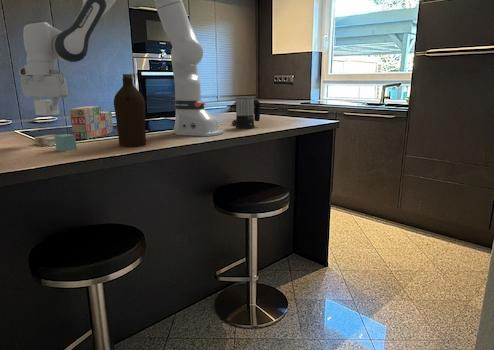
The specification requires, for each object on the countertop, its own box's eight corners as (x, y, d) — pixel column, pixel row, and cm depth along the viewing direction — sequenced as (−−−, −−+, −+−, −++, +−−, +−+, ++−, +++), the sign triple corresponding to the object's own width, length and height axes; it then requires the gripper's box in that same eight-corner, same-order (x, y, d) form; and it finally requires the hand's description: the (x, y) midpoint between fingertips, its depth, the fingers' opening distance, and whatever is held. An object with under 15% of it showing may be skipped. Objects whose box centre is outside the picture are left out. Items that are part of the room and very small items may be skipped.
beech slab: (69, 143, 139) (68, 135, 138) (50, 147, 132) (48, 138, 131) (55, 142, 142) (54, 134, 141) (35, 145, 135) (34, 137, 134)
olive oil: (153, 144, 134) (148, 74, 127) (125, 148, 127) (119, 74, 120) (139, 141, 141) (134, 74, 135) (112, 144, 134) (105, 74, 128)
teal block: (76, 149, 126) (75, 134, 125) (65, 151, 122) (63, 136, 121) (67, 148, 128) (65, 134, 127) (56, 150, 124) (54, 135, 123)
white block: (59, 114, 135) (57, 100, 134) (46, 115, 130) (44, 101, 129) (49, 113, 137) (47, 99, 136) (35, 114, 133) (33, 100, 131)
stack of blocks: (101, 131, 166) (98, 104, 163) (113, 132, 166) (111, 104, 162) (73, 139, 146) (69, 108, 143) (87, 140, 145) (84, 108, 142)
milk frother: (247, 129, 174) (247, 97, 170) (220, 127, 182) (220, 96, 178) (262, 126, 185) (263, 96, 182) (236, 124, 194) (236, 95, 190)
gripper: (70, 70, 128) (74, 110, 132) (32, 70, 137) (37, 108, 140) (54, 70, 123) (59, 111, 126) (15, 70, 131) (21, 109, 135)
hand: (47, 109), depth 134 cm, fingers closed on white block, 5 cm apart
